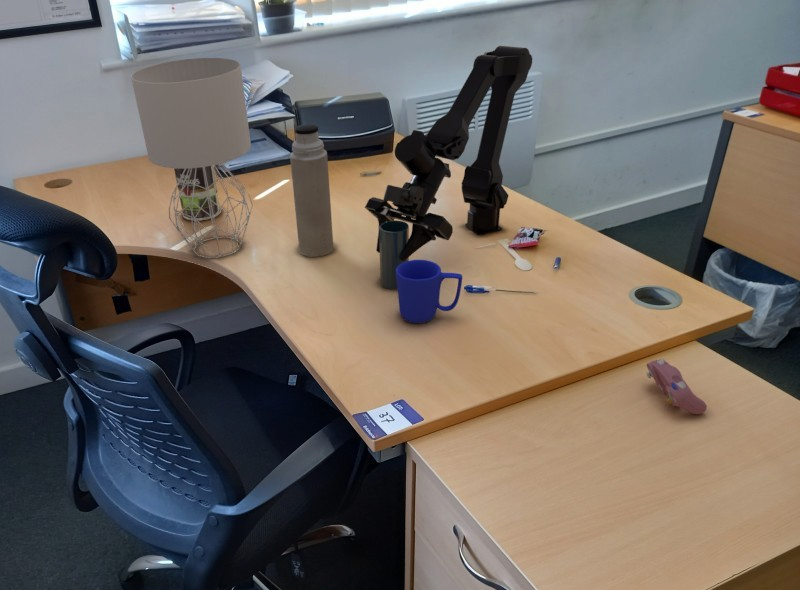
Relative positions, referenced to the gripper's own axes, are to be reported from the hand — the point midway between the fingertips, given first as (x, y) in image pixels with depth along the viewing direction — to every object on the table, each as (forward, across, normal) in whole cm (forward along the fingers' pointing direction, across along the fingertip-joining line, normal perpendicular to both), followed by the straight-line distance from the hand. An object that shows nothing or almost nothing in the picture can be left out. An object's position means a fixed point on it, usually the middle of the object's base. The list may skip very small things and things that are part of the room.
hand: (389, 255), depth 138 cm
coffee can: (+4, -65, +6) cm, 65 cm away
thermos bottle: (+3, -25, +7) cm, 26 cm away
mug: (+9, +14, +1) cm, 16 cm away
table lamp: (+12, -45, -2) cm, 46 cm away
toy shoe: (+6, +58, +3) cm, 58 cm away
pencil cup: (+4, 0, +6) cm, 7 cm away
